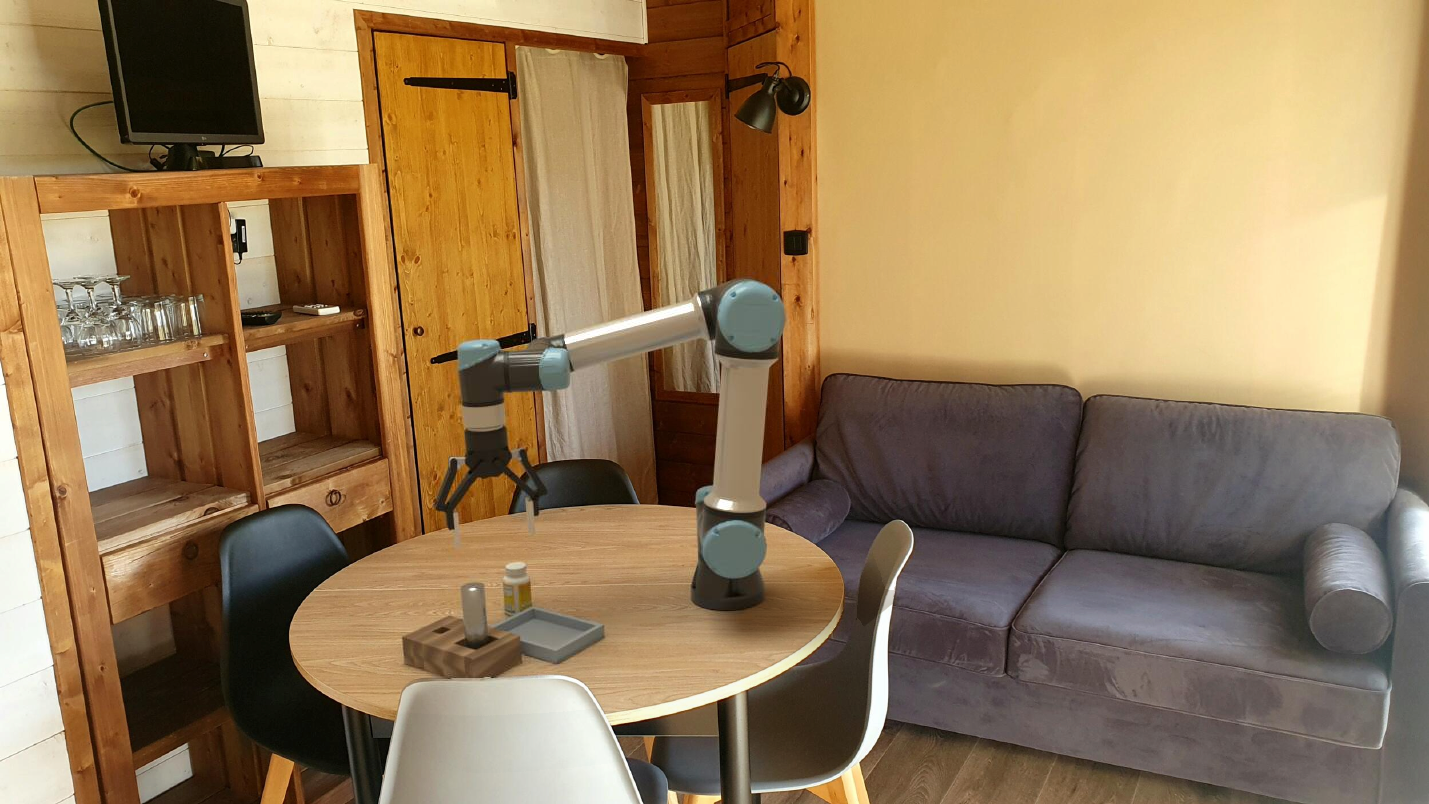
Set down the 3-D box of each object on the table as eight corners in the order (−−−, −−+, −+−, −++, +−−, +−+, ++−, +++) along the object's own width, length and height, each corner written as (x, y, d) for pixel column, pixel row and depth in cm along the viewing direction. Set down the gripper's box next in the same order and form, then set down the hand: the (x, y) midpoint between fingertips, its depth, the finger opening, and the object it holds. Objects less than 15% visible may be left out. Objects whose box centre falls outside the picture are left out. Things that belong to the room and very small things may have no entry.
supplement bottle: (503, 617, 203) (500, 571, 201) (506, 607, 208) (502, 561, 206) (531, 615, 203) (528, 569, 201) (533, 605, 208) (530, 560, 207)
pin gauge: (495, 665, 182) (489, 585, 179) (478, 674, 178) (471, 592, 176) (479, 660, 184) (473, 580, 181) (462, 669, 181) (455, 588, 178)
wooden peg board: (521, 662, 183) (519, 635, 182) (475, 687, 174) (473, 659, 173) (451, 640, 193) (449, 615, 192) (404, 663, 184) (401, 636, 183)
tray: (604, 637, 192) (604, 624, 192) (556, 664, 182) (556, 650, 181) (533, 618, 202) (532, 606, 202) (484, 642, 192) (483, 629, 191)
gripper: (548, 414, 194) (556, 523, 198) (410, 431, 184) (422, 545, 189) (558, 421, 187) (566, 533, 191) (416, 439, 178) (428, 557, 182)
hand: (495, 539), depth 190 cm, fingers open, 13 cm apart
